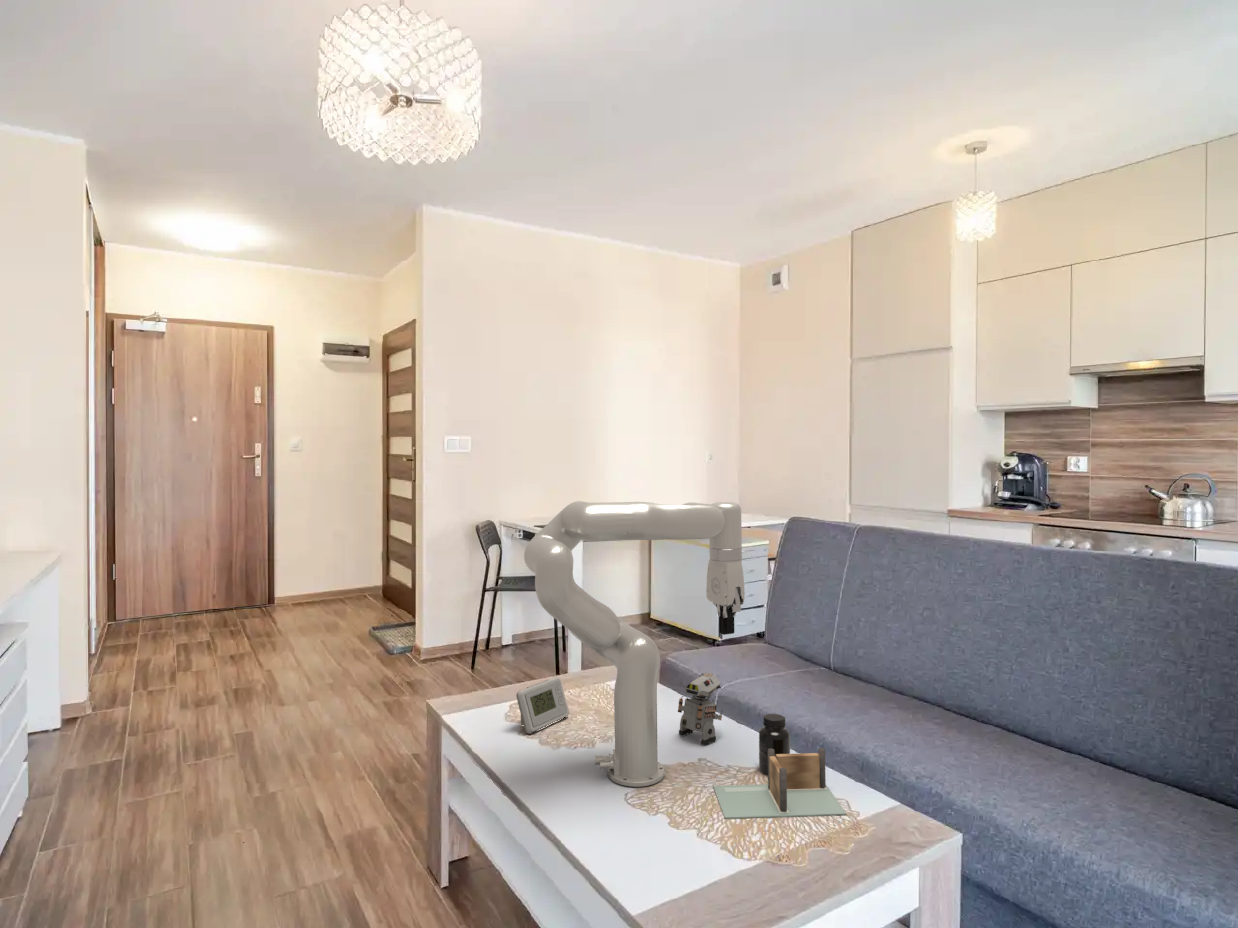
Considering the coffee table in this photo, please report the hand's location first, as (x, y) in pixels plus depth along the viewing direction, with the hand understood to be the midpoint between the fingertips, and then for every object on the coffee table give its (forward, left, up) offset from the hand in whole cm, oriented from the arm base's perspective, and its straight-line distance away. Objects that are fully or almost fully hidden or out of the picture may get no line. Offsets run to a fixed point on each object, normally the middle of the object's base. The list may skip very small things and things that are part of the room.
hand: (726, 633), depth 162 cm
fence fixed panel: (+12, -17, -29) cm, 35 cm away
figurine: (-4, +12, -29) cm, 32 cm away
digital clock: (-45, +23, -29) cm, 59 cm away
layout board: (+6, -21, -29) cm, 36 cm away
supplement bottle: (+9, -8, -29) cm, 32 cm away
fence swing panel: (+6, -21, -29) cm, 36 cm away
